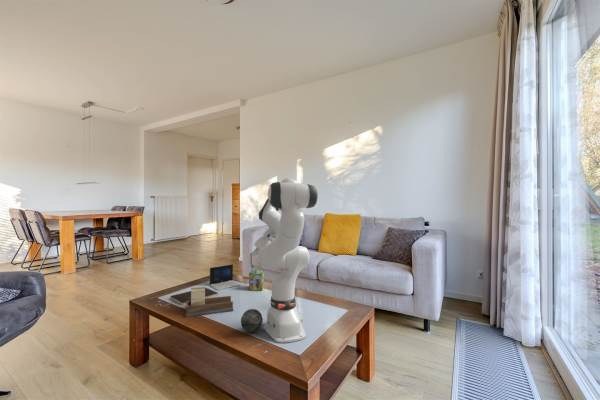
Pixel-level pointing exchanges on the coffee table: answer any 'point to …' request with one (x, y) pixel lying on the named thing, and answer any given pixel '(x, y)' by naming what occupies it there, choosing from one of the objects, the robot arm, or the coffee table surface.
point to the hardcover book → (186, 296)
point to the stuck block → (197, 296)
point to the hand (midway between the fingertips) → (253, 255)
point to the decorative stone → (251, 320)
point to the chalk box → (256, 280)
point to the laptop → (222, 277)
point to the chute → (210, 306)
